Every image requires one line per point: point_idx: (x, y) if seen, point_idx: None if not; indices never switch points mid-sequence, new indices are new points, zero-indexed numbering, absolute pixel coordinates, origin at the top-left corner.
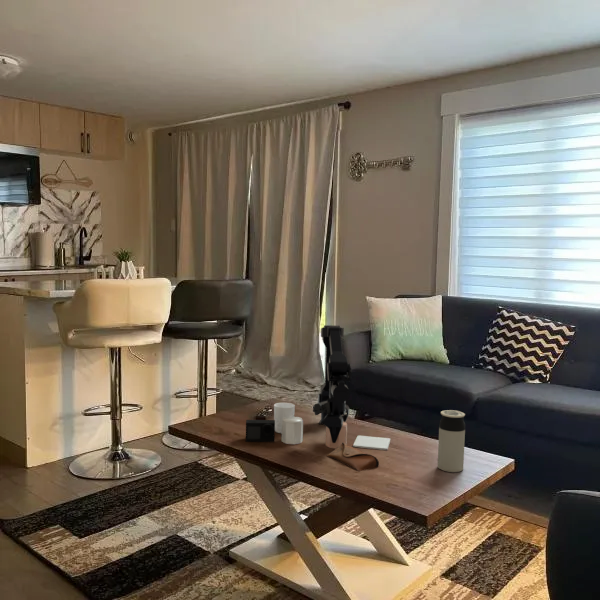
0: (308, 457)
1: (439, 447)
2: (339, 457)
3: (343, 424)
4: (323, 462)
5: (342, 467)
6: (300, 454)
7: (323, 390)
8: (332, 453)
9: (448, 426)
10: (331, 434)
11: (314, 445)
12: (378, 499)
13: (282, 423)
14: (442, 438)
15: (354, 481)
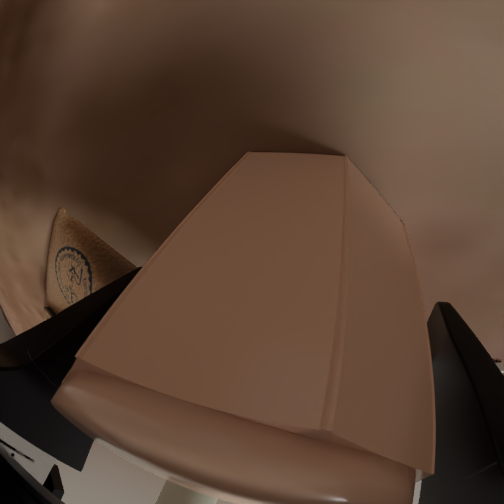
0: (5, 126)
1: (174, 484)
2: (46, 285)
3: (202, 492)
4: (12, 213)
5: (32, 282)
6: (12, 62)
7: None
8: (53, 255)
9: None
10: (64, 319)
11: (208, 35)
12: (9, 324)
13: None
14: (160, 500)
15: (11, 301)
